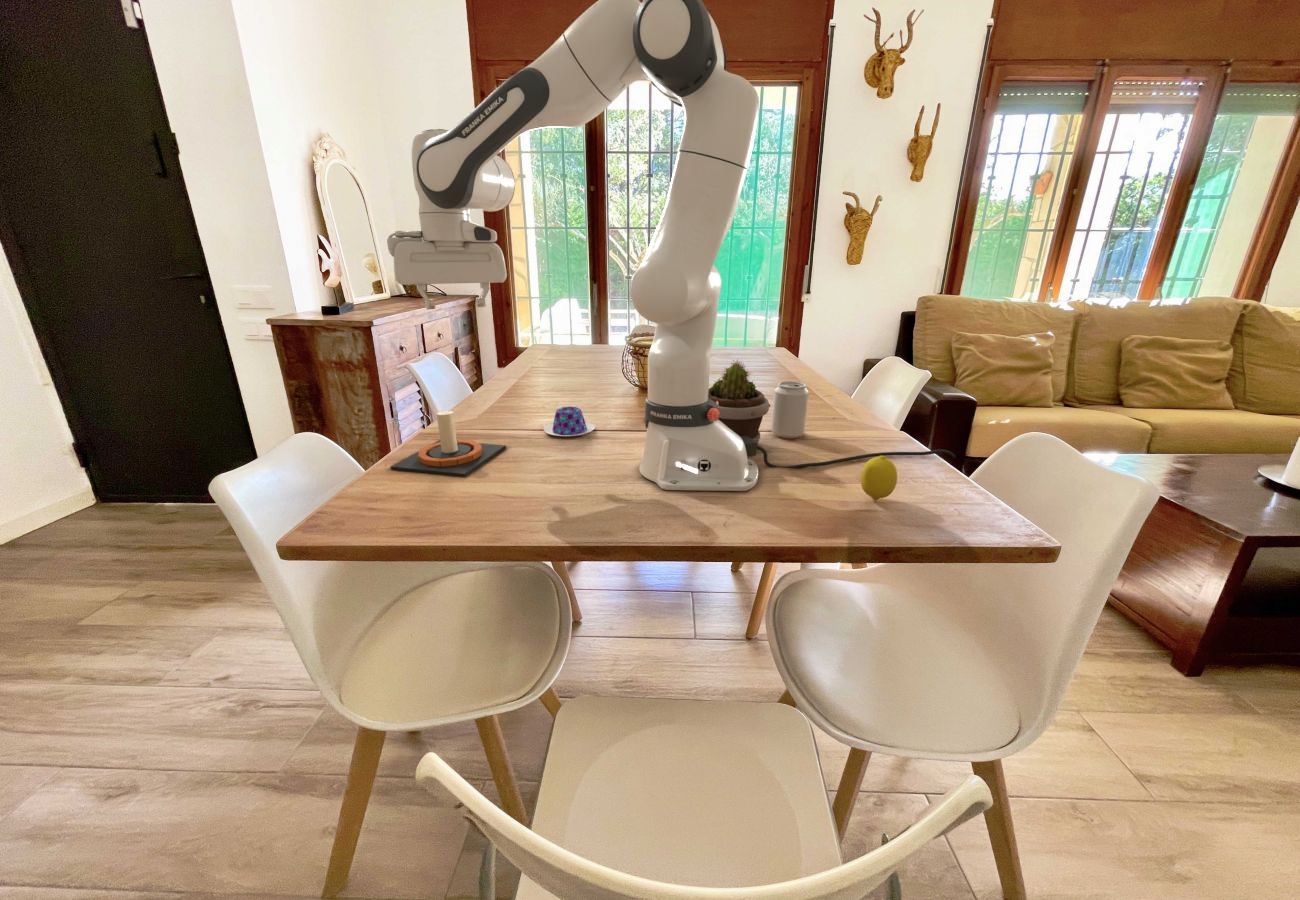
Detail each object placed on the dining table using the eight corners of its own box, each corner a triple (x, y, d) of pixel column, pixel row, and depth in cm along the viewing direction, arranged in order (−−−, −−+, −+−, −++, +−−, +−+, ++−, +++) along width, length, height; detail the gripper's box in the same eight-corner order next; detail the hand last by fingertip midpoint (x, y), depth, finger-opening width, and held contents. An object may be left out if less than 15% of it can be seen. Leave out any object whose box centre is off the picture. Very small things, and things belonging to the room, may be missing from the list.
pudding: (534, 436, 118) (532, 414, 116) (558, 421, 129) (556, 401, 127) (582, 441, 115) (581, 418, 113) (602, 425, 125) (602, 404, 124)
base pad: (506, 447, 111) (505, 440, 110) (464, 476, 96) (463, 467, 96) (440, 442, 114) (439, 434, 114) (390, 469, 100) (389, 460, 99)
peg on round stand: (478, 450, 108) (473, 408, 105) (457, 464, 101) (450, 420, 97) (444, 447, 110) (438, 406, 106) (421, 460, 102) (413, 417, 99)
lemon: (890, 510, 83) (898, 464, 81) (854, 502, 86) (861, 457, 83) (895, 497, 88) (903, 453, 85) (861, 490, 91) (867, 447, 88)
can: (808, 432, 120) (813, 382, 116) (798, 441, 114) (803, 388, 110) (776, 427, 124) (781, 378, 120) (765, 436, 118) (770, 384, 114)
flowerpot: (700, 432, 120) (703, 346, 113) (767, 437, 117) (774, 349, 110) (690, 454, 107) (693, 358, 100) (766, 460, 104) (774, 362, 97)
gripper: (385, 229, 89) (399, 311, 94) (504, 232, 98) (511, 307, 103) (384, 231, 95) (397, 309, 99) (497, 233, 103) (504, 304, 108)
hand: (456, 308), depth 101 cm, fingers open, 8 cm apart
